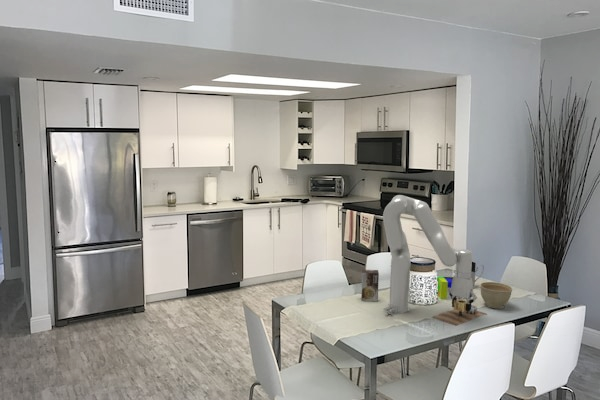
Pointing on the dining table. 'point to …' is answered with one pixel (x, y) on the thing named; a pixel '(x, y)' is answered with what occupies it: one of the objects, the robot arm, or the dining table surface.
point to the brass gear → (460, 305)
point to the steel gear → (472, 310)
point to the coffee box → (370, 285)
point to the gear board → (457, 316)
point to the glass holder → (474, 273)
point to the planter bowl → (495, 294)
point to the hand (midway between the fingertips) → (461, 308)
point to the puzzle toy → (444, 287)
